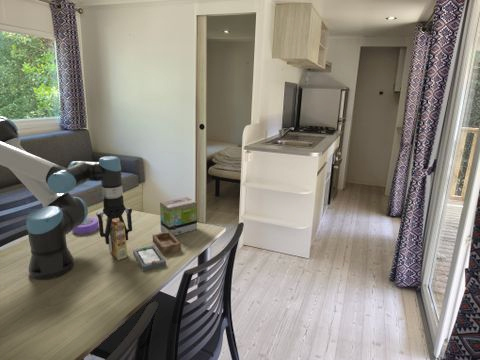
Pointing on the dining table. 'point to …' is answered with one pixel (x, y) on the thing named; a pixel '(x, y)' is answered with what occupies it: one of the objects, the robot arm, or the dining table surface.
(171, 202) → the tea box
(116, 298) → the dining table surface
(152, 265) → the base
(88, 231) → the masking tape
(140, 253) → the grey rectangular panel
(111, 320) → the dining table surface
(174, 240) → the trough
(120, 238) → the candy box
